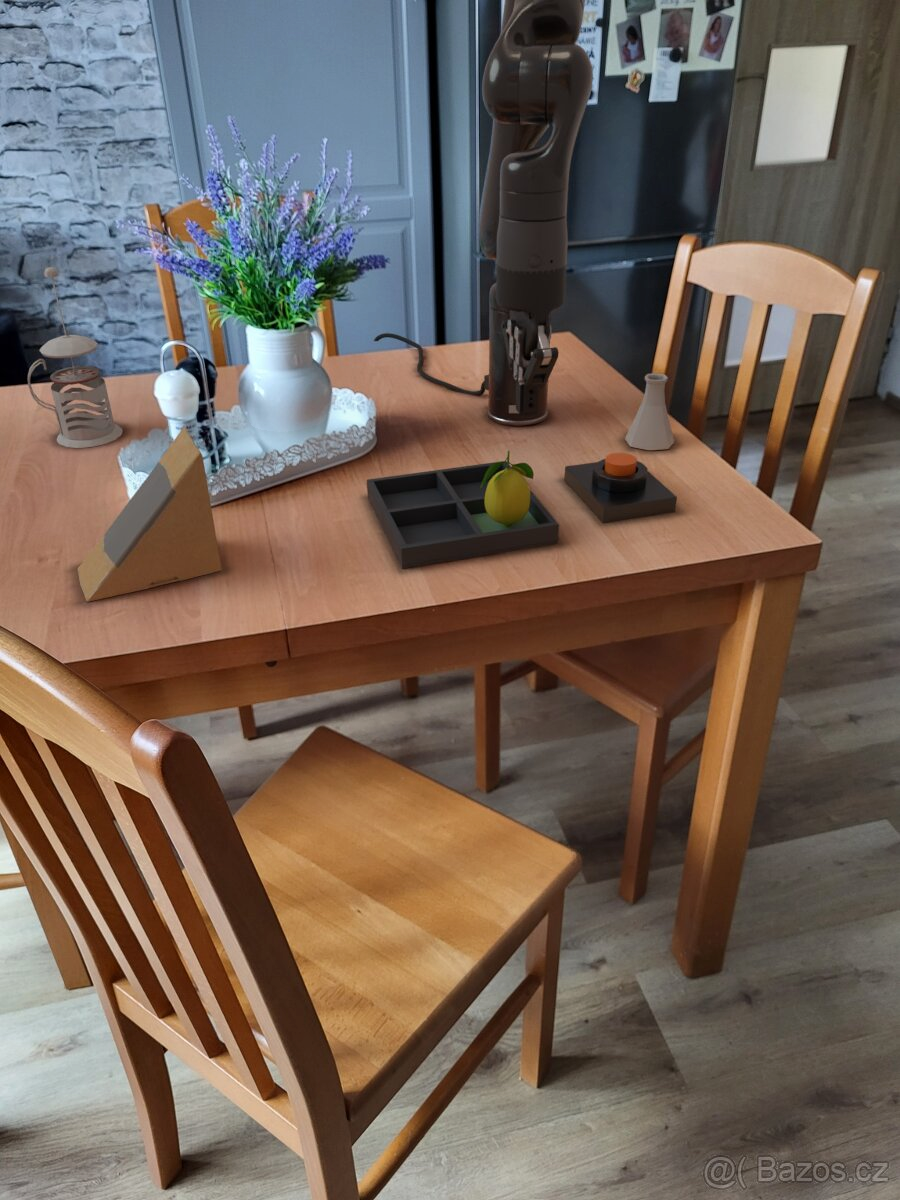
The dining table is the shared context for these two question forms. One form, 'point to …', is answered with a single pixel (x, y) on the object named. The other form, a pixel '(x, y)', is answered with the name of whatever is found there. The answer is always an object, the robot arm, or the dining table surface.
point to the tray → (451, 517)
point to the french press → (81, 424)
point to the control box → (619, 492)
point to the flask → (652, 418)
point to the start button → (620, 464)
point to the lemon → (508, 492)
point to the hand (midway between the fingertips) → (526, 412)
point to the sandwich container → (157, 530)
